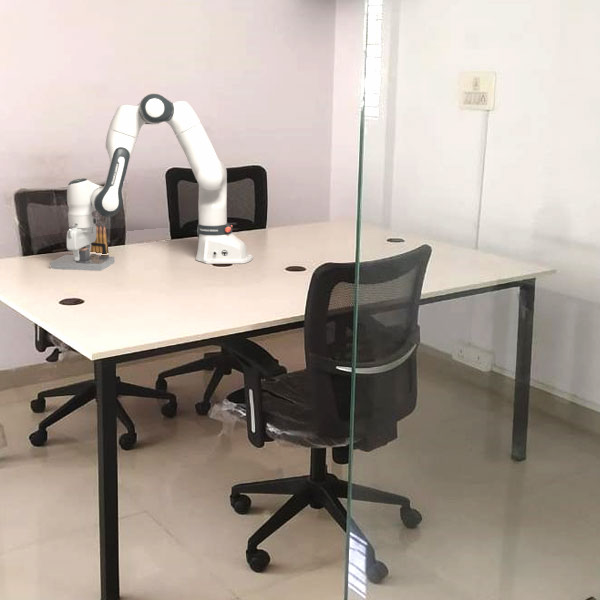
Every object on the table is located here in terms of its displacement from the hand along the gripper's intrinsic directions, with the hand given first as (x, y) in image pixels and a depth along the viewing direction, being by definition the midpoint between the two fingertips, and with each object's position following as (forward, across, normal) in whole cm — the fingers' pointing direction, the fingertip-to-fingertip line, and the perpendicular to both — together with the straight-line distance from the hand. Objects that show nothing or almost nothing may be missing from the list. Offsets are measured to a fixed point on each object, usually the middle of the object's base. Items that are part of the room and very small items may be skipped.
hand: (82, 257), depth 347 cm
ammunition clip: (+3, +21, +3) cm, 21 cm away
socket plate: (+3, 0, 0) cm, 3 cm away
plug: (+3, 0, 0) cm, 3 cm away
